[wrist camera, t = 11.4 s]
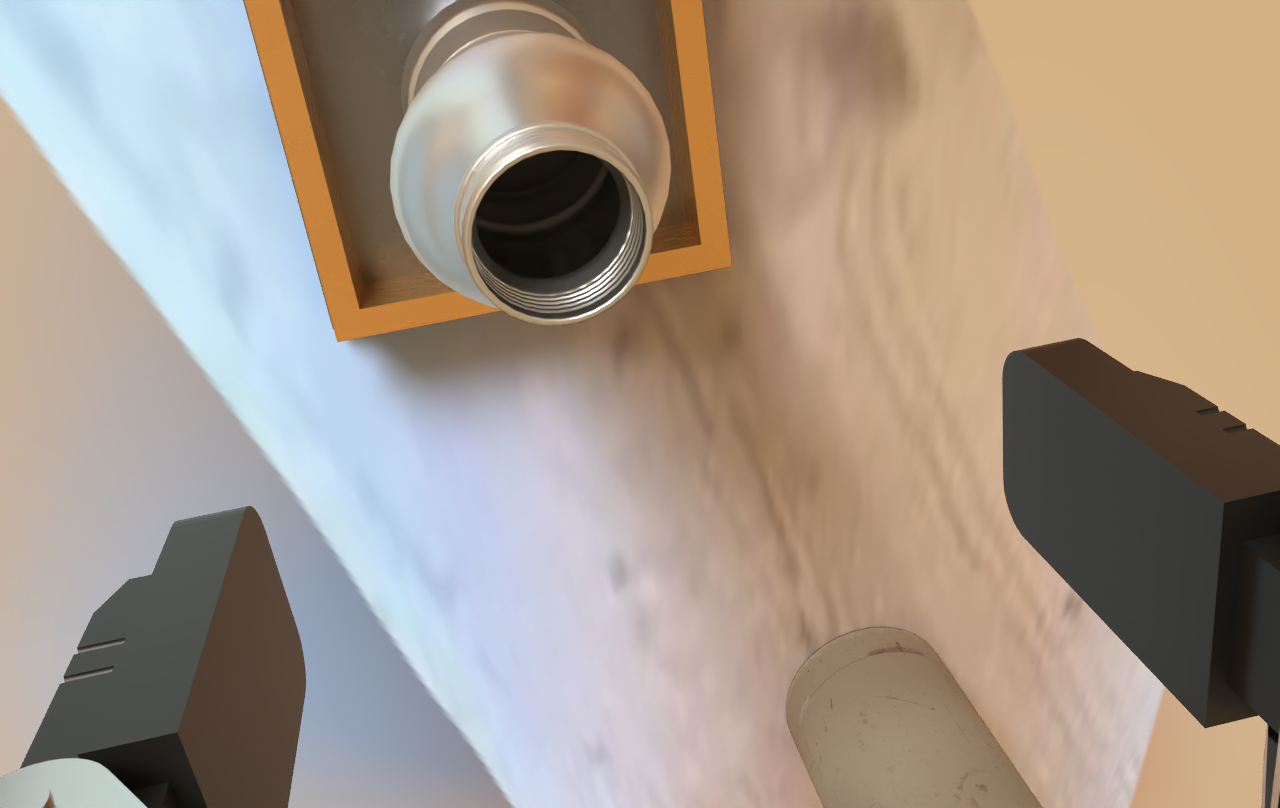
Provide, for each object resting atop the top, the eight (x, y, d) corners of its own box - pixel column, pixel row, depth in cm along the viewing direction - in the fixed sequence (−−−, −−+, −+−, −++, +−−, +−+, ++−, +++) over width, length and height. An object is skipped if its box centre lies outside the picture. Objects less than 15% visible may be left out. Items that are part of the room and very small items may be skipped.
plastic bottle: (630, 102, 41) (794, 263, 23) (478, 213, 41) (519, 457, 23) (521, -59, 38) (609, -22, 20) (360, 64, 39) (304, 206, 21)
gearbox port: (218, -113, 37) (194, -115, 33) (669, -181, 38) (696, -191, 35) (335, 318, 43) (326, 358, 39) (719, 245, 45) (746, 277, 41)
